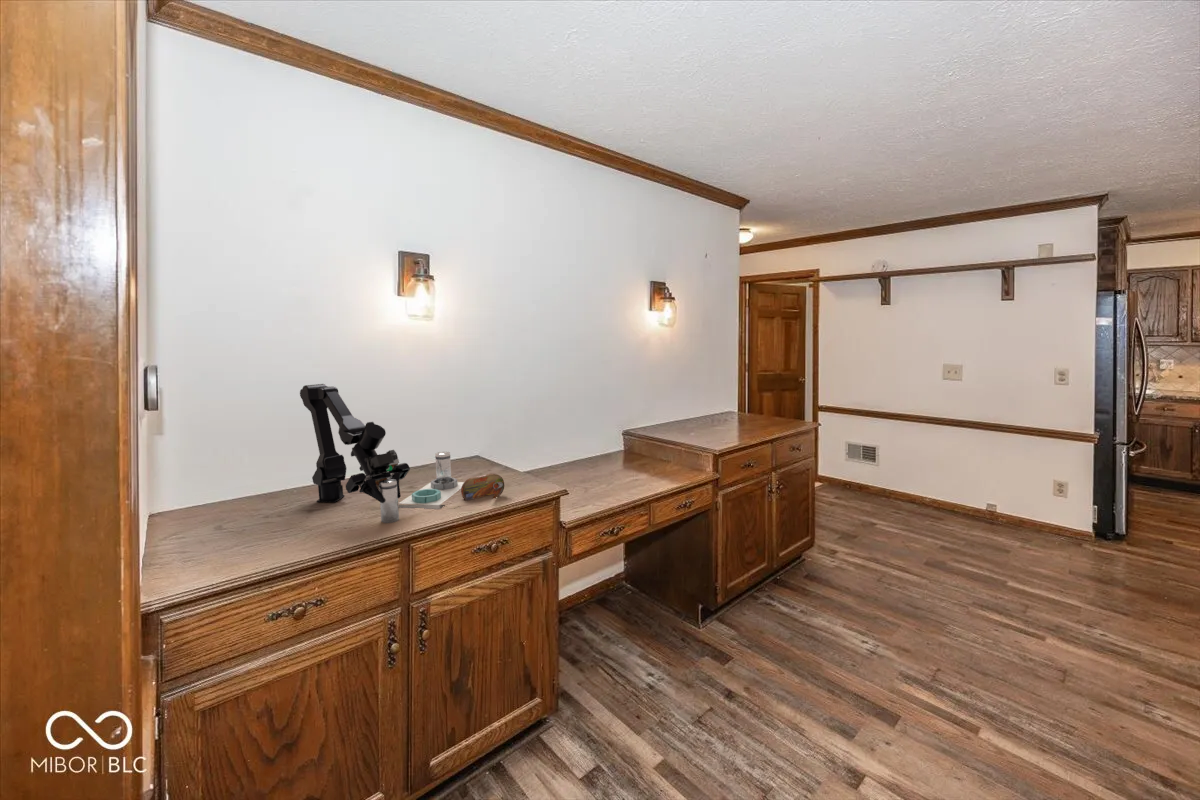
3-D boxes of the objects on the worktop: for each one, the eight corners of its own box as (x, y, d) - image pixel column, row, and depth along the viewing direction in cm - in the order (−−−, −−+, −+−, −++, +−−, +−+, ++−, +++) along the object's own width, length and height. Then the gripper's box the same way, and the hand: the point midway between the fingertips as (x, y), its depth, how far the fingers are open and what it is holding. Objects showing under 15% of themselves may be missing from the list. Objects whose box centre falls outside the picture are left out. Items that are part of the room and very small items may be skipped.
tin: (464, 505, 173) (463, 480, 172) (460, 503, 176) (459, 478, 174) (505, 496, 183) (504, 472, 182) (500, 494, 185) (500, 470, 184)
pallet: (398, 507, 171) (397, 497, 171) (432, 485, 196) (432, 475, 196) (439, 509, 170) (439, 498, 169) (469, 486, 194) (468, 477, 194)
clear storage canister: (378, 523, 158) (375, 484, 156) (385, 517, 163) (382, 479, 162) (395, 523, 158) (392, 484, 156) (401, 517, 163) (399, 479, 161)
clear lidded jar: (434, 488, 187) (433, 455, 185) (439, 484, 192) (437, 451, 190) (449, 488, 187) (447, 454, 185) (453, 484, 192) (451, 451, 190)
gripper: (347, 448, 152) (372, 492, 147) (405, 437, 167) (428, 477, 162) (335, 471, 158) (358, 514, 153) (391, 458, 173) (414, 497, 168)
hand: (391, 499), depth 159 cm, fingers closed on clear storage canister, 5 cm apart
